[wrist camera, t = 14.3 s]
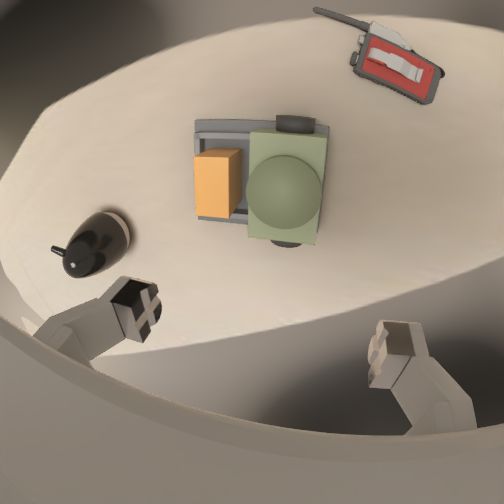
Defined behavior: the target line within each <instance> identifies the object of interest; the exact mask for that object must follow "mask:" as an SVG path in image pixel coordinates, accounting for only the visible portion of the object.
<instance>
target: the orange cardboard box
mask: <svg viewBox="0 0 504 504" xmlns="http://www.w3.org/2000/svg"><path fill="white" fill-rule="evenodd" d="M194 180H195V201H196V215H197V216H208V217H218V218H228V219H229V218H230V216H231V215H232V213H233V212H234V210H235V209H236V208H237V206H238V205H239V203H240V202H241V200H242V148H221V147H212V148H210V149H208V150H206V151H204V152H202V153H200V154H198V155H196V156H194Z"/></svg>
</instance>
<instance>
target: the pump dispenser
mask: <svg viewBox="0 0 504 504" xmlns="http://www.w3.org/2000/svg"><path fill="white" fill-rule="evenodd" d="M129 241H130V235H129V230H128V227H127V225H126V224H125V222H124V221H123V220H122V219H121V218H120V217H119V216H117V215H116V214H113V213H110V212H102V213H95V214H93V215H91V216H90V217H89V218H87V219H86V220H85V221H84V222H83V223H82V224H81V225H80V226H79V227H78V229H77V230H76V231H75V232H74V234H73V235H72V237H71V238H70V240H69V242H68V244H67V246H66V249H63V248H60V247H57V246H54V245H53V246H52V247H51V251H52V252H54V253H56V254H58V255H59V256H61V257H63V260H62V262H63V267H64V270H65V271H66V273H67V274H68V275H69V276H71V277H73V278H87V277H90V276H93V275H96V274H99V273H101V272H103V271H105V270H107V269H109V268H110V267H112V266H113V265H115V264H116V263H118V262H119V261H120V260H121V259H122V258H123V257H124V256H125V254H126V252H127V248H128V246H129Z"/></svg>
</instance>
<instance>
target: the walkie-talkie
mask: <svg viewBox="0 0 504 504" xmlns="http://www.w3.org/2000/svg"><path fill="white" fill-rule="evenodd" d="M313 11H314V12H315V13H317V14H321V15H324V16H327V17H330V18H334V19H337V20H340V21H343V22H345V23H348V24H351V25H354V26H356V27H359V28H360V29H362V30H365V31H367V32H368V33H366V35H365V36H364V35H363V36H362V35H360V37H359V43H361V47H360V51H359V54H358V53H357V52H353V55H352V58H351V61H350V64H351V65H354V64H355V67H354V70H353V71H354V72H355V74H357V75H359V76H361V77H363V78H367V79H370V80H372V81H373V82H375V83H377V84H381V85H383V86H387V87H388V88H390V89H393V90H394V91H397V92H398V93H401V94H403V95H404V96H407V97H408V98H410V99H413V100H414V101H417V103H420V104H425V105H426V104H430V103H432V101H433V99H434V96H435V93H436V90H437V87H438V83H439V80H440V78H443V77H444V76H445V72H444V70H443V69H442V68H440V67H439V66H437V65H435V64H434V63H432V62H430V61H428V60H427V59H425V58H423V57H421V56H419V55H418V54H416V53H415V52H414V50H412V49H411V47H410V46H408V45H407V43H406V42H405V40H404V39H403V38H402V36H401V35H400V34H399V33H397V32H395V31H393V30H390V29H388V28H386V27H384V26H381V25H379V24H378V23H377V22H374V21H372V23H371V24H369V23H366V22H364V21H362V22H361V21H359V20H356V19H353V18H350V17H347V16H345V15H342V14H339V13H335V12H332V11H329V10H326V9H322V8H319V7H314V8H313Z"/></svg>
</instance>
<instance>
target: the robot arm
mask: <svg viewBox="0 0 504 504" xmlns="http://www.w3.org/2000/svg"><path fill="white" fill-rule="evenodd" d="M158 292H159V291H158V287H157V285H156V284H155V283H153V282H148V281H144V280H140V279H136V278H131V277H128V276H120V277H119V278H118V279H117V280H116V281H115V282H114V284H113V285H112V286H111V287H110V288H109V289H108V290H107V291H106V292H105V293H104V294H103V295H102V296H101V297H100V298H99V299H98V298H95V299H93V300H90V301H88V302H85V303H83V304H80V305H78V306H76V307H73V308H71V309H68V310H66V311H64V312H61V313H59V314H56V315H54V316H52V317H49V319H48V320H47V321H46V322H45V323H44V324H43V325H42V326H41V327H40V328H39V329H38V330H37V332H36V333H35V334H34V335H33V336H31V335H30V334H28V333H27V332H25V331H24V330H22V329H20V328H19V327H17V326H16V325H14V324H13V323H11V322H10V321H8V320H7V319H6V318H4V317H3V316H1V315H0V504H504V424H499V425H495V426H489V427H484V428H479V429H477V425H476V420H475V415H474V410H473V405H472V400H471V398H470V397H469V396H468V395H467V394H466V393H465V392H464V391H463V390H462V388H461V387H460V386H459V385H458V384H457V383H456V382H455V381H454V380H453V378H452V377H451V376H450V375H449V374H448V373H447V372H446V371H445V370H444V369H443V368H442V367H441V366H440V364H439V363H438V362H437V361H436V360H435V359H434V358H433V357H429V353H428V350H427V346H426V341H425V338H424V334H423V331H422V327H421V325H420V323H415V322H400V321H389V320H380V321H379V323H378V325H377V327H376V330H377V334H376V335H374V336H373V337H372V339H371V342H370V345H369V350H368V362H369V364H370V365H371V368H370V370H369V387H373V388H385V389H386V388H387V389H391V391H392V392H393V394H394V396H395V398H396V399H397V401H398V402H399V404H400V406H401V407H402V409H403V411H404V412H405V414H406V416H407V417H408V419H409V421H410V422H411V424H412V425H413V427H412V428H411V429H410V430H409V431H408V432H407V433H406V434H405V435H404V436H364V435H363V436H362V435H344V434H332V433H321V432H312V431H304V430H297V429H289V428H283V427H277V426H271V425H266V424H260V423H255V422H251V421H246V420H241V419H237V418H232V417H228V416H224V415H220V414H216V413H213V412H209V411H205V410H202V409H198V408H195V407H191V406H188V405H185V404H181V403H178V402H175V401H172V400H169V399H166V398H163V397H160V396H157V395H155V394H152V393H149V392H146V391H144V390H141V389H138V388H136V387H134V386H131V385H128V384H126V383H124V382H121V381H119V380H117V379H114V378H112V377H109V376H107V375H105V374H103V373H101V372H99V371H96V370H94V368H93V366H92V364H91V362H90V360H92V359H94V358H95V357H97V356H98V355H100V354H102V353H103V352H105V351H106V350H108V349H110V348H111V347H113V346H115V345H116V344H118V343H119V342H121V341H123V340H124V339H125V338H127V339H131V340H134V341H137V342H141V343H143V342H144V341H145V340H146V338H147V337H148V335H149V334H150V332H151V328H150V326H152V325H154V324H156V323H157V322H158V320H159V319H160V315H161V312H162V305H161V301H160V299H159V298H158V297H157V296H156V295H157V293H158Z"/></svg>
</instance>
